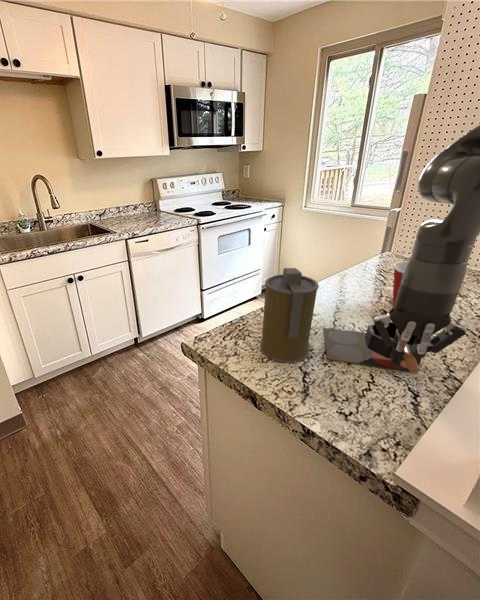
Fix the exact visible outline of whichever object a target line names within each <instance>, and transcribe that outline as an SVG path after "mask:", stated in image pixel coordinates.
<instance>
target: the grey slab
mask: <svg viewBox="0 0 480 600" xmlns="http://www.w3.org/2000/svg"><path fill="white" fill-rule="evenodd" d="M323 335H324V344H325V353H326V354H325V355H326V360H327V361H335V362H340V363H347V364H353V365H360V366H367V367H371V368H378V369H379V368H380V369H385V370H392V371H399V372H406V373H411V374H413V373H412V372H410V371H409V369H408V367H407V365H406V363H405V361H401V364H400V367H394V365H393V364H392V363H391V360H390V359H388V358H385V357H383V356H382V355H380V354H378V353H376V352H374V351H372V350H370V349H368V348H367V344H366V341H365V335H366V332H362V331H354V330H345V329H338V328H337V329H336V328H328V327H323ZM416 374H419V372H417V373H416Z"/></svg>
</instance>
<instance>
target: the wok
mask: <svg viewBox="0 0 480 600" xmlns="http://www.w3.org/2000/svg"><path fill="white" fill-rule="evenodd" d="M396 329H397V328H396V326H395V325H394V323H393V322H392V321H389V326H388V327H387V328H386V330H387V332H388V334H389V336H390V337H391V338H393V339H394V338H395V335H396ZM365 333H366V335H365V341H366V344H367V348H368V349H370V350H372V351H374V352H376V353H378V354H380V355H382V356H383V357H385V358H388V359H390V353H391V350H392V347H387V346H386V345H385V344H384V342H383V340H382V338H381V336H380V334H379V332H378V330H377V328H376V326H375V324H374V322H373V323H370V324H368V325H367V328H366V332H365ZM414 340H415V336H411V337H410V339H409V342H407V343H406V346H405V348H404V350H403V351H404V354H403V357H402V361H405V363H406V365H407V367H408V369H409V371H410V372H412V373H411V374H417V372H418V373H419V372H420V371H421V367H420V365H418V363H417V361H416V359H415V357H414V355H413V353H412V351H411V347H414V345H413V344H414ZM427 353H428V352H426V353H425V354H423V356H422V359H424V358H425V357H426V356H427ZM410 372H409V373H410Z"/></svg>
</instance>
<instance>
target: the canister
mask: <svg viewBox="0 0 480 600" xmlns="http://www.w3.org/2000/svg"><path fill="white" fill-rule="evenodd" d="M282 271H283V272H282V274H276V275H273V276H269V277H268V278H266V280H265V282H264V284H265V292H264V293H265V294H264V303H263V304H264V306H263V320H262V332H261V343H260V345H259V347H260V351H261V352H262V353H263V354H264V356H266V357H268V358H269V359H271V360H273V361H276V362H281V363H289V364H292V363H299V362H301V361H303V360H305V359H306V358H307V357H308V354H309V350H308V349H309V341H310V335H311V328H312V324H313V323H312V322H313V317H314V310H315V305H316V298H317V293H318V289H319V282H318V281H316V280H315V279H313V278H311V277H309V276H305V275H303V273H302V272H301V270H299V269H298V268H296V267H284V268H283V270H282Z"/></svg>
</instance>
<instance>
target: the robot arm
mask: <svg viewBox="0 0 480 600" xmlns="http://www.w3.org/2000/svg"><path fill="white" fill-rule="evenodd" d="M417 191H418V193H419V195H420V197H421V198H423V199H424V200H426V201H429V202H433V203H439V204H446V205H452V208H451V209H450V210H449V212H448V214H447V215H446V216H445V217H444V218H434V219H429V220H426V221H424V222H423V223H421V224H420V226H419V227H418V229H417V232H416V235H415V237H414V241H413V245H412V249H411V253H410V255H409V257H408V260H407V261H406V262H407V264H406V266H405V269H404V272H403V274H402V277H401V278H402V280H401V283H400V287H399V290H398V294H397V297H396V301H395V305H394V307H393V306H392V308H390V310H389V311H388V313H386V314H383V315H378V314H374V315H372V317H371V319H372V322H373V323H374V324H375V326H376V328H377V330H378V332H379V334H380V336H381V338H382V340H383V342H384V344H385V345H386V346H387V347H392V350H391V353H390V360H391V363H392V364H393V365H394V367H400V364H401V361H402V357H403V354H404V351H403V350H404V348H405V346H406V343H407V342H409V339H410V337H411V336H415V340H414V344H413V345H414V347H411V351H412V353H413V355H414V357H415V359H416V361H417V363H418V365H419V366H420V364H421V362H422V359H423V358H422V356H423V354H425V353H426V352H427V353H432V354H438V353H440V352H441V351H443V350H444V349H446V348H447V347H449V346H450V345H452V344H453V343H455V342H456V341H458V340H460V339H461V338H463V337H464V336H465V335H466V334H467V332H466V330H465V328H463V326H462V325H461V324H460V323H458V322H453V321H452V317H451V313H452V311H453V309H454V306H455V305H456V304H455V303H456V301H457V298H458V295H459V293H460V290H461V287H462V284H463V282H464V279H465V277H466V272H467V267H468V263H469V260H470V258H471V254H472V252H473V249H474V247H475V244H476V240H477V239H478V236H479V235H480V124H479V125H477V126H476V127H474V128H472V129H471V130H469V131H468V132H466V133H465V134H464V135H463V136H461V137H460V138H458V139H457V140H455V141H454V142H453V143H451V144H450V145H449V146H447V147H446V148H445V149H443V150H442V151H441V152H439V154H437V155H436V156H435V157H434V158H433V159H431V161H430V162H429V163H428V164H427V166H425V168H424V169H423V170H422V173H421V175H420V176H419V180H418V183H417ZM389 322H393V323H394V325H395V326H396V328H397V329H396V335H395V338H394V339H393V338H391V337H390V336H389V334H388V332H387V330H386V328H387V327H388V326H389ZM438 332H439V333H438ZM435 334H436V335H435ZM433 335H434V336H433ZM432 336H433V337H432ZM427 353H426V354H427Z"/></svg>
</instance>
